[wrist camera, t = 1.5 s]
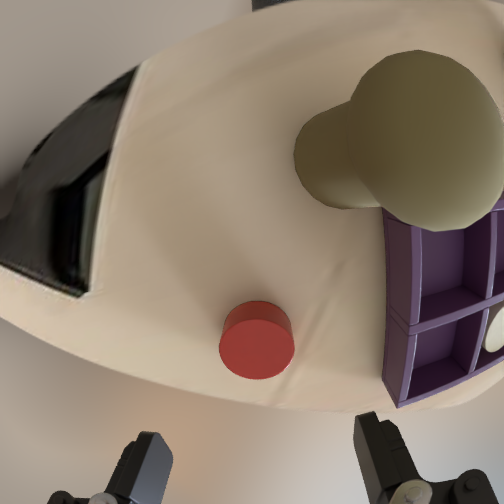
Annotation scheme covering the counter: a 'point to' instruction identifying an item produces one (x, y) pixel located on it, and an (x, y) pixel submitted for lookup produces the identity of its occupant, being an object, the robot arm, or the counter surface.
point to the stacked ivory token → (494, 328)
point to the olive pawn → (409, 144)
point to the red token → (257, 340)
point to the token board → (440, 303)
